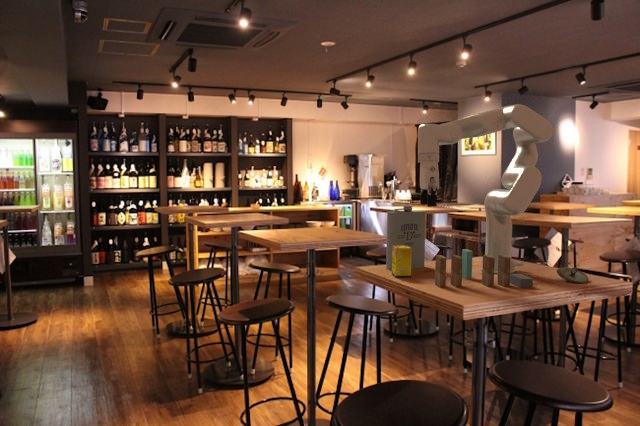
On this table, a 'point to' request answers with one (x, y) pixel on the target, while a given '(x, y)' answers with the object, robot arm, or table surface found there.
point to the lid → (572, 275)
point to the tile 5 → (504, 270)
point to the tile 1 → (440, 271)
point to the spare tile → (467, 263)
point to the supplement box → (401, 261)
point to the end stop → (521, 281)
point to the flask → (406, 234)
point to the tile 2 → (456, 271)
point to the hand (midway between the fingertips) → (428, 205)
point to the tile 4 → (488, 270)
